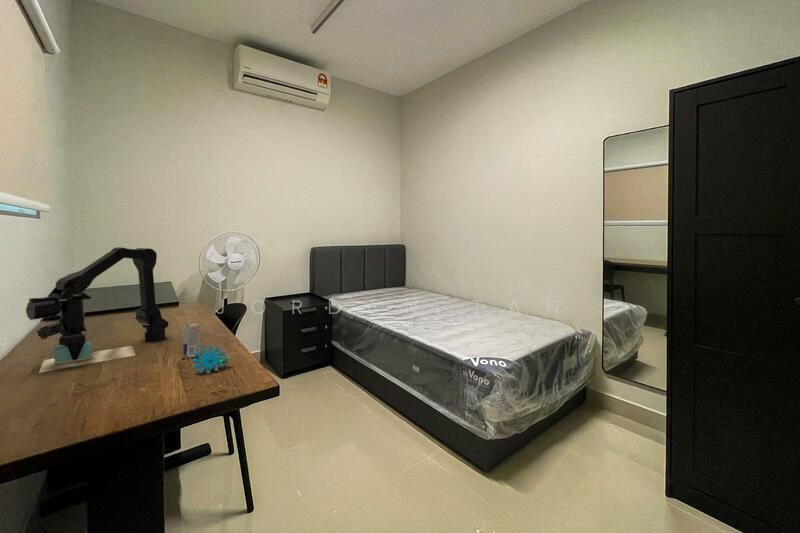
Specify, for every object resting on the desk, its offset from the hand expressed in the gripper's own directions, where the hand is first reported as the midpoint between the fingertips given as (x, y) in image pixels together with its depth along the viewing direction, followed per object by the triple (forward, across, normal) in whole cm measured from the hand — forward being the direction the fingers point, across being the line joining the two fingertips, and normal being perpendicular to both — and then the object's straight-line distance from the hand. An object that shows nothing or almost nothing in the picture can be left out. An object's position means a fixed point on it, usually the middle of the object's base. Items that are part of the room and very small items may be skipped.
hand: (75, 357), depth 115 cm
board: (+2, 0, +4) cm, 4 cm away
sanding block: (+1, 0, 0) cm, 1 cm away
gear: (+2, +36, +34) cm, 50 cm away
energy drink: (+2, +17, +32) cm, 36 cm away
